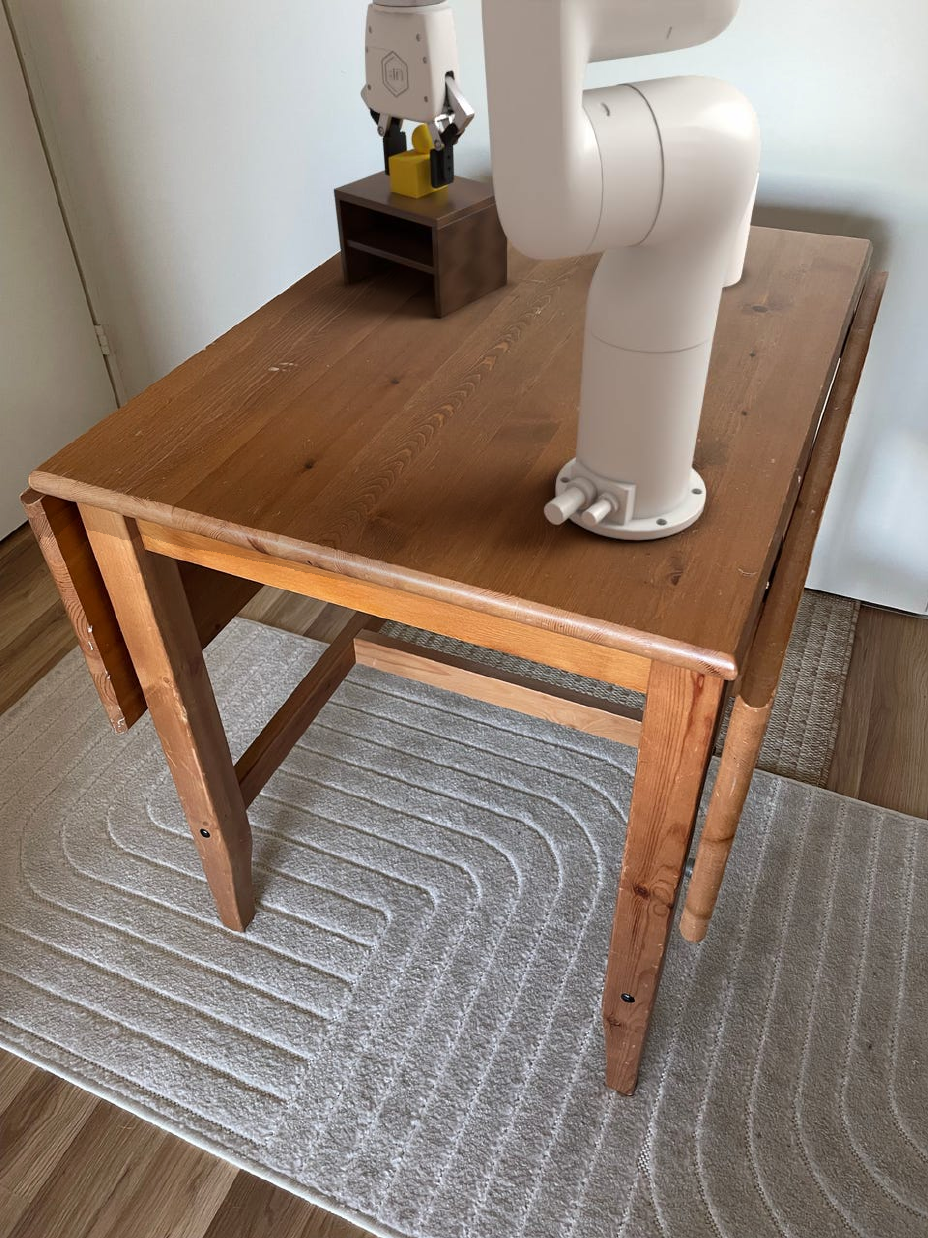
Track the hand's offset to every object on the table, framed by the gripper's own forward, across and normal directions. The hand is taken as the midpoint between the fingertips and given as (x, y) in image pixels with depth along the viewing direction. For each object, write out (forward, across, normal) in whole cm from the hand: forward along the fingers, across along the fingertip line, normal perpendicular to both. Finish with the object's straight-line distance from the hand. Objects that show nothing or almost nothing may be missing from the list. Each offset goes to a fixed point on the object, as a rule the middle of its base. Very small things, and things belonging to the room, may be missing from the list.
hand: (419, 177), depth 105 cm
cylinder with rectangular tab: (+12, +25, +23) cm, 36 cm away
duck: (+1, 0, 0) cm, 1 cm away
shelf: (+12, 0, 0) cm, 12 cm away
